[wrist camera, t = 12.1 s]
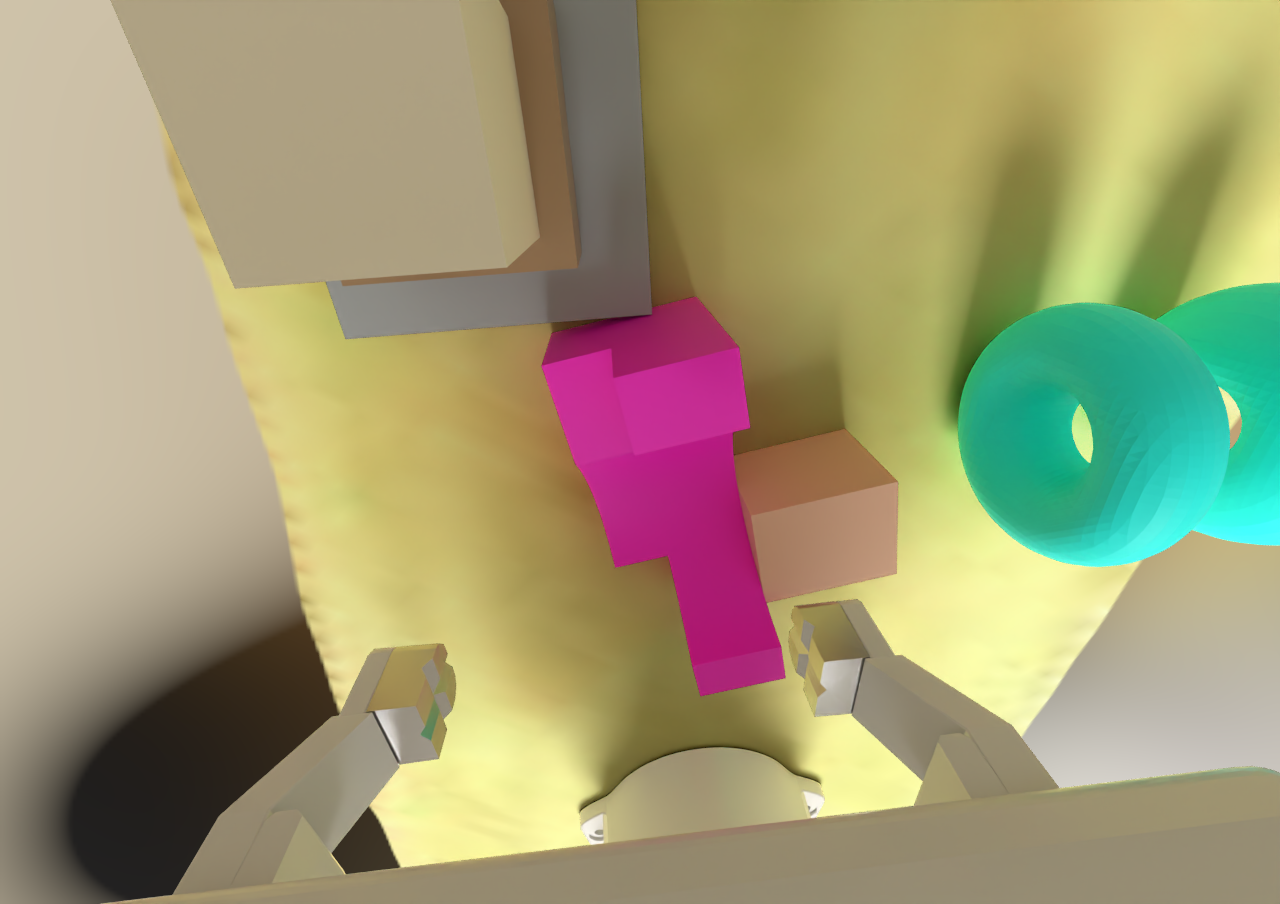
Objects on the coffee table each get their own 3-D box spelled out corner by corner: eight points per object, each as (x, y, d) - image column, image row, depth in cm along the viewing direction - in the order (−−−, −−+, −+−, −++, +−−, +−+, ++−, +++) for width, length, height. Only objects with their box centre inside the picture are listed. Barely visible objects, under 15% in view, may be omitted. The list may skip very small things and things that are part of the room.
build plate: (649, 307, 21) (663, 342, 16) (358, 331, 21) (289, 373, 16) (628, -92, 15) (640, -208, 11) (225, -70, 15) (61, -180, 10)
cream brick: (508, 17, 12) (440, -107, 7) (539, 237, 15) (506, 267, 9) (300, 29, 12) (73, -88, 7) (366, 250, 15) (234, 288, 9)
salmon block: (896, 573, 23) (764, 603, 23) (847, 509, 27) (738, 535, 27) (898, 481, 20) (750, 515, 20) (844, 428, 25) (724, 456, 25)
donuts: (1113, 460, 27) (1367, 598, 18) (927, 481, 26) (1091, 631, 18) (1197, 261, 22) (1599, 313, 13) (970, 284, 22) (1225, 354, 13)
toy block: (552, 332, 21) (531, 398, 15) (695, 295, 21) (738, 347, 15) (634, 586, 29) (644, 708, 22) (742, 562, 28) (785, 678, 22)
